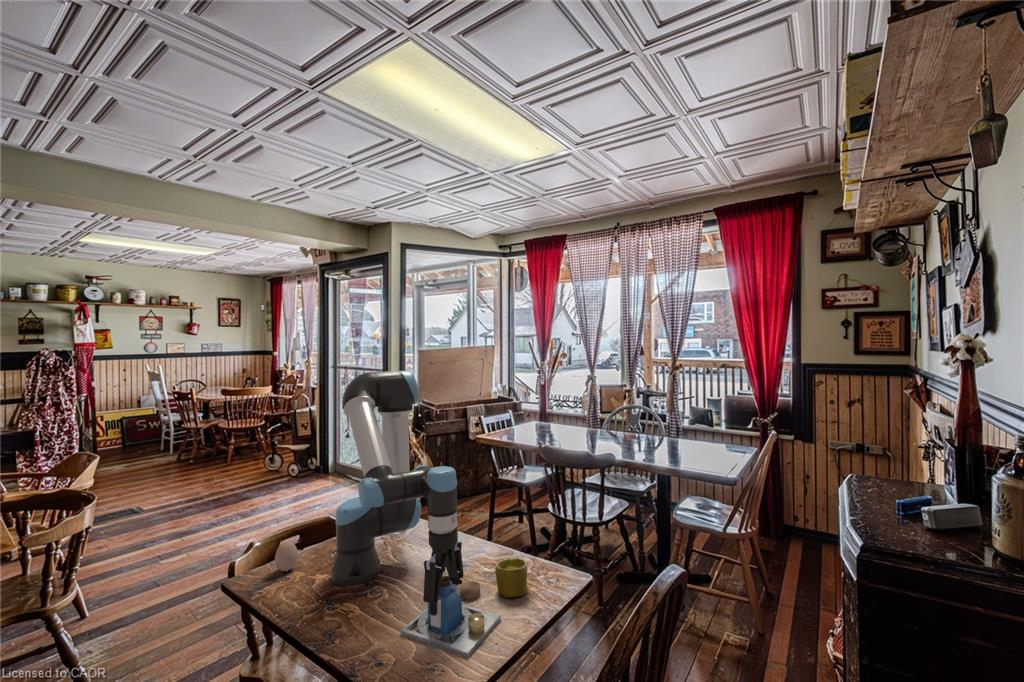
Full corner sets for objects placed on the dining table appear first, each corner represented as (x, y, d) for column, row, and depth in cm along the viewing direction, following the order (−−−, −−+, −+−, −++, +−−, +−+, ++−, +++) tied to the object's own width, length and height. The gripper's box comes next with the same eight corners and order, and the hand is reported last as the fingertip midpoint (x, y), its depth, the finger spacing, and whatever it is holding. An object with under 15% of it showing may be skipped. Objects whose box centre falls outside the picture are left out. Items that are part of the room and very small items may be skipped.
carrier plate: (400, 635, 111) (400, 618, 111) (438, 601, 126) (438, 586, 126) (467, 658, 102) (467, 639, 102) (500, 619, 116) (500, 603, 117)
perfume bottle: (447, 636, 111) (445, 587, 111) (428, 629, 114) (427, 581, 114) (462, 622, 116) (460, 576, 116) (443, 616, 119) (442, 571, 119)
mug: (529, 597, 123) (519, 559, 126) (496, 606, 125) (486, 568, 128) (539, 583, 135) (529, 549, 137) (508, 591, 137) (499, 557, 139)
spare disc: (455, 597, 128) (455, 589, 128) (466, 587, 133) (466, 579, 133) (473, 602, 125) (472, 593, 125) (483, 592, 130) (483, 583, 130)
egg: (293, 563, 151) (293, 535, 151) (301, 570, 146) (300, 540, 146) (272, 571, 146) (271, 541, 146) (279, 578, 141) (278, 547, 141)
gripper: (431, 546, 105) (433, 644, 104) (475, 517, 122) (477, 600, 122) (406, 541, 108) (408, 636, 108) (453, 513, 126) (455, 594, 125)
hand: (445, 617), depth 115 cm, fingers open, 7 cm apart
